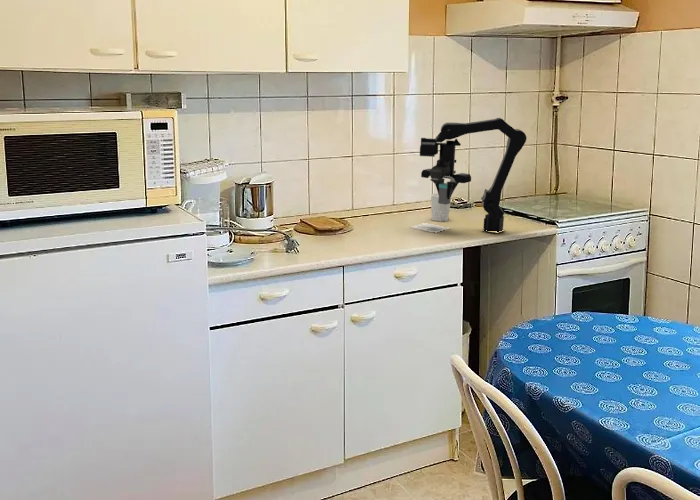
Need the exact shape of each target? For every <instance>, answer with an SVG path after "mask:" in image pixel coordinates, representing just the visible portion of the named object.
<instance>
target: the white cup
mask: <svg viewBox="0 0 700 500" xmlns="http://www.w3.org/2000/svg"><path fill="white" fill-rule="evenodd" d="M430 195H431V196H430V201H431V202H430V210H431V211H430V212H431V213H430V214H431V217H430V218H431V220H432V221H434V222H435V221H436V222H447V221H448V220H449V215H450V209H451V200H452V196H451V197H450V204H446V205H445V204H439V203H438V201H439V194H438V192H437V193H432V194H430Z"/></svg>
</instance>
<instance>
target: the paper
mask: <svg viewBox="0 0 700 500" xmlns="http://www.w3.org/2000/svg"><path fill="white" fill-rule="evenodd" d="M409 228H410V229H414V230H419V231H424V232H428V231H429V232H430V233H433V232H435V234H438V233H441V232H440V231H442V232H444V231H443V230H445V231H447V230H446V229H448V230H451V229H450V228H451V227H447V226H442V225H437V224H432V223H426V222H423V223H419V224H415V225H412V226H409ZM437 232H438V233H437Z"/></svg>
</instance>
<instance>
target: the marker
mask: <svg viewBox="0 0 700 500" xmlns="http://www.w3.org/2000/svg"><path fill="white" fill-rule="evenodd" d="M447 194H448V184H447V182H444V183H441V184H439V201H438V203H439V204H445V205H446V204H450V205H451V202H450V199H448V198H447Z"/></svg>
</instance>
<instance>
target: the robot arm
mask: <svg viewBox="0 0 700 500" xmlns="http://www.w3.org/2000/svg"><path fill="white" fill-rule="evenodd" d="M494 130H495V131H496V130H499V131H500V132H501V133H502V134H504V135H505V136H506V137H507V142H506V148H505V152H504V155H503V157H502V160H501V162H500V165H499V167H498V170H497V172H496V174H495V177H494V179H493V182H492V184H491V186H490V188H489V189H486V188H485V189H484V192H483V194H482V197H481V198H480V199H481V205H482V207H483V210H484V211H485V212H486V214H485V216H484V218H483V226H482V227H483V229H482V230H484V231H486V230H487V231H497V232H499V231H502V230H504V221H505V216H504V215H505V212H504V211H503V207H501V206H500V203H501V196H502V191H503V189H504V186H505V183H506V180H507V178H508V176H509V174H510V172H511V169H512V166H513V164H514V162H515V159H516V157H517V155H518V154H519V152H521V150H522V148H523V147H524V145H525V144H526V142H527V137H528V136H527V135H526V133H525V132H524V131H523V130H522V129H520V128H519V129H518V128H514V127H512V126H511V125H510V124H508V123H507V122H506V121H505V120H504V119H503V118H501V117H496V118H494V119H493V118H492V119H486V120H485V119H484V120H478V121H473V122H466V123H465V122H464V123H463V122H445V123H443V124H442V125H441V127H440V132H439V133H438V135H436V137H435V138H426V137H421V138H420V145H419V157H434V158H435V157H436V155H438V153H439V157H438V159H437V160H436V165H433V166H432V167H431V168H425V169H422V170H421V172H420V177H421V178H422V179H423V178H424V179H429V178H430V182H433V183H434V185H435V188H436V191H437V193H438V194H439V184H441V183H445V179H448V180H449V181H446V183H447V184H448V194H447V198H448V199H450V197H451V198H452V195H453V194H454V191H455V190H456V188H457V186H459V184H466V183H470V182H472V176H471V174H470V173H463V172H461V173H460V172H459V173H456V170H455V164H456V163H457V159H456V146H457V147H460V146H461V145H462V143H461V142H460V141H459V140H458V138H459V137H462V136H464V135H468V134H474V133H482V132H489V131H494ZM453 139H454V140H453ZM445 141H446V142H445ZM484 231H483V232H484Z"/></svg>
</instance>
